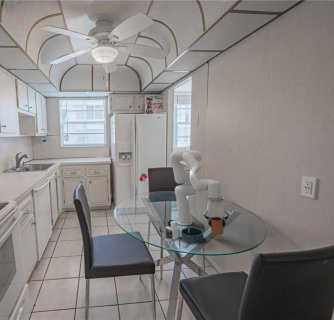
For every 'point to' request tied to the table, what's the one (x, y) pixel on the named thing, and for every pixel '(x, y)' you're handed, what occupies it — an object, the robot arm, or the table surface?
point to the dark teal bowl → (192, 235)
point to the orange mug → (217, 225)
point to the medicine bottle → (172, 230)
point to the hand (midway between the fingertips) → (216, 225)
